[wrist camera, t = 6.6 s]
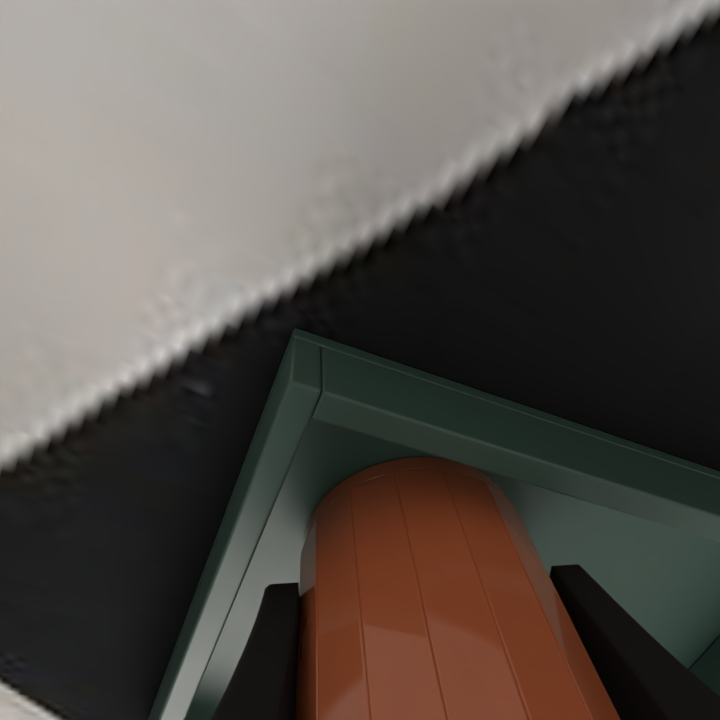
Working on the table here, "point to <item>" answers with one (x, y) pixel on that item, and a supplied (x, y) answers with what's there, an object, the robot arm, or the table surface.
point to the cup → (433, 606)
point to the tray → (466, 446)
